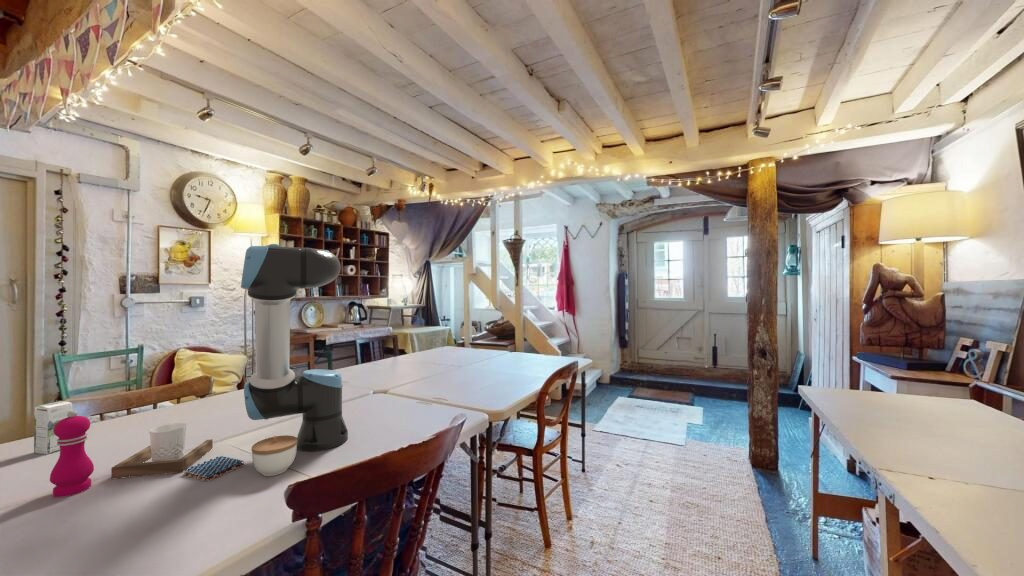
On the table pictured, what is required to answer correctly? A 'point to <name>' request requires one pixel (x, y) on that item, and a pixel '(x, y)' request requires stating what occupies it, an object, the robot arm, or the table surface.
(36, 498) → the table surface
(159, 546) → the table surface
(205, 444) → the walnut bay
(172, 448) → the white cup
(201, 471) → the woven mat
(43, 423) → the syrup box
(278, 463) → the lidded jar
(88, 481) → the pepper mill
